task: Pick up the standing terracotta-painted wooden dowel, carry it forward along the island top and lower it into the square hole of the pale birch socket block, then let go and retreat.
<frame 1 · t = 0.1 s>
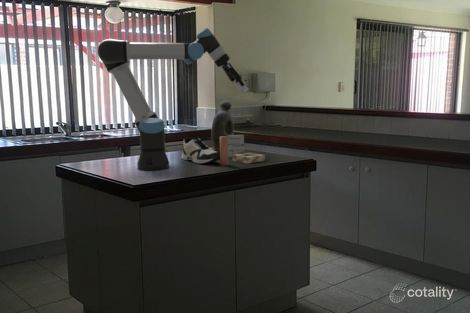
hand: (244, 90, 246), 36 cm above the countertop, tool tilted 35°, fingers open, 13 cm apart
sculpture: (223, 153, 274), on the countertop
peg: (224, 164, 236), on the countertop
running shoe: (199, 162, 247), on the countertop
ink box: (236, 156, 262), on the countertop
socket: (248, 160, 248), on the countertop
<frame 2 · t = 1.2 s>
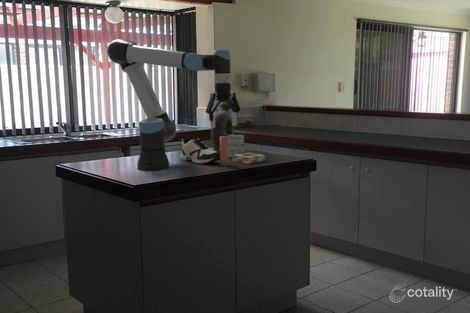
hand: (223, 126, 234), 19 cm above the countertop, tool pointing down, fingers open, 13 cm apart
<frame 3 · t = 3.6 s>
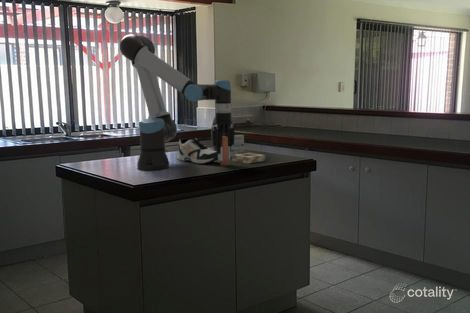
hand: (224, 159, 236), 3 cm above the countertop, tool pointing down, fingers closed on peg, 4 cm apart
peg: (224, 164, 236), on the countertop, touching gripper
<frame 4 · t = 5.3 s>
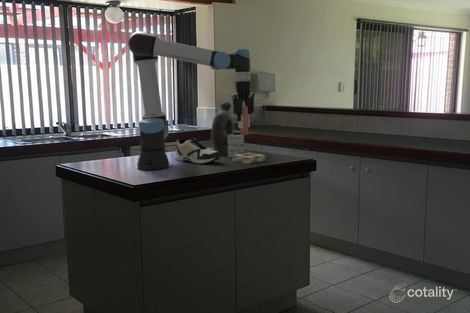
hand: (244, 127, 242), 18 cm above the countertop, tool pointing down, fingers closed on peg, 4 cm apart
peg: (244, 134, 242), point 14 cm above the countertop, touching gripper
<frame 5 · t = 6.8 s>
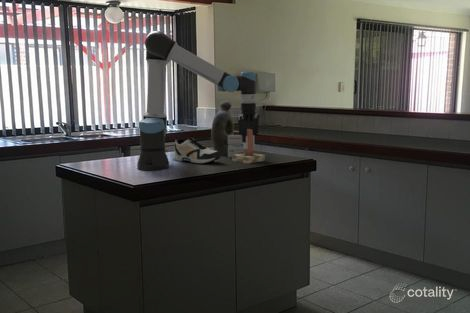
hand: (248, 148, 247), 7 cm above the countertop, tool pointing down, fingers closed on peg, 4 cm apart
peg: (249, 156, 247), point 2 cm above the countertop, touching gripper
when the fingers open (4 cm above the countertop, at t = 7.4 s): peg stays where it is, resting in socket.
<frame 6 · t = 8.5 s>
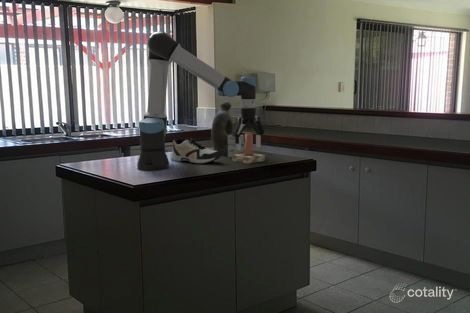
hand: (248, 148, 247), 6 cm above the countertop, tool pointing down, fingers open, 13 cm apart
peg: (249, 160, 248), resting in socket
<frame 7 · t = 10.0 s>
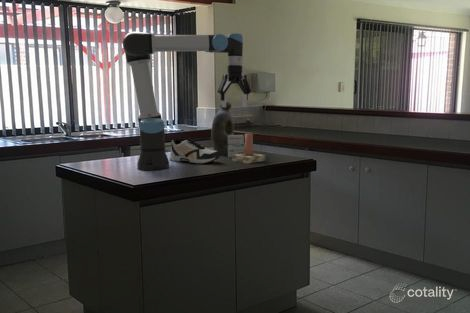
hand: (234, 107, 246), 28 cm above the countertop, tool pointing down, fingers open, 13 cm apart
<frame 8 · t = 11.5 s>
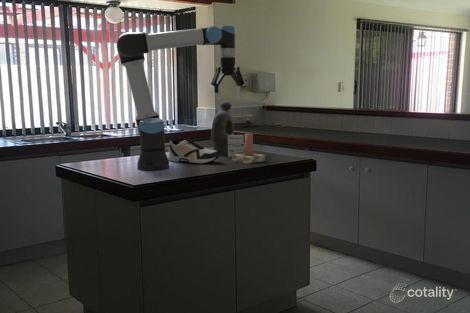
hand: (228, 99, 247), 32 cm above the countertop, tool pointing down, fingers open, 13 cm apart
at the end: peg 0.2 cm off-centre on the socket, point 0.0 cm above the socket's base; peg tilted 0°; the gripper is holding nothing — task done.
